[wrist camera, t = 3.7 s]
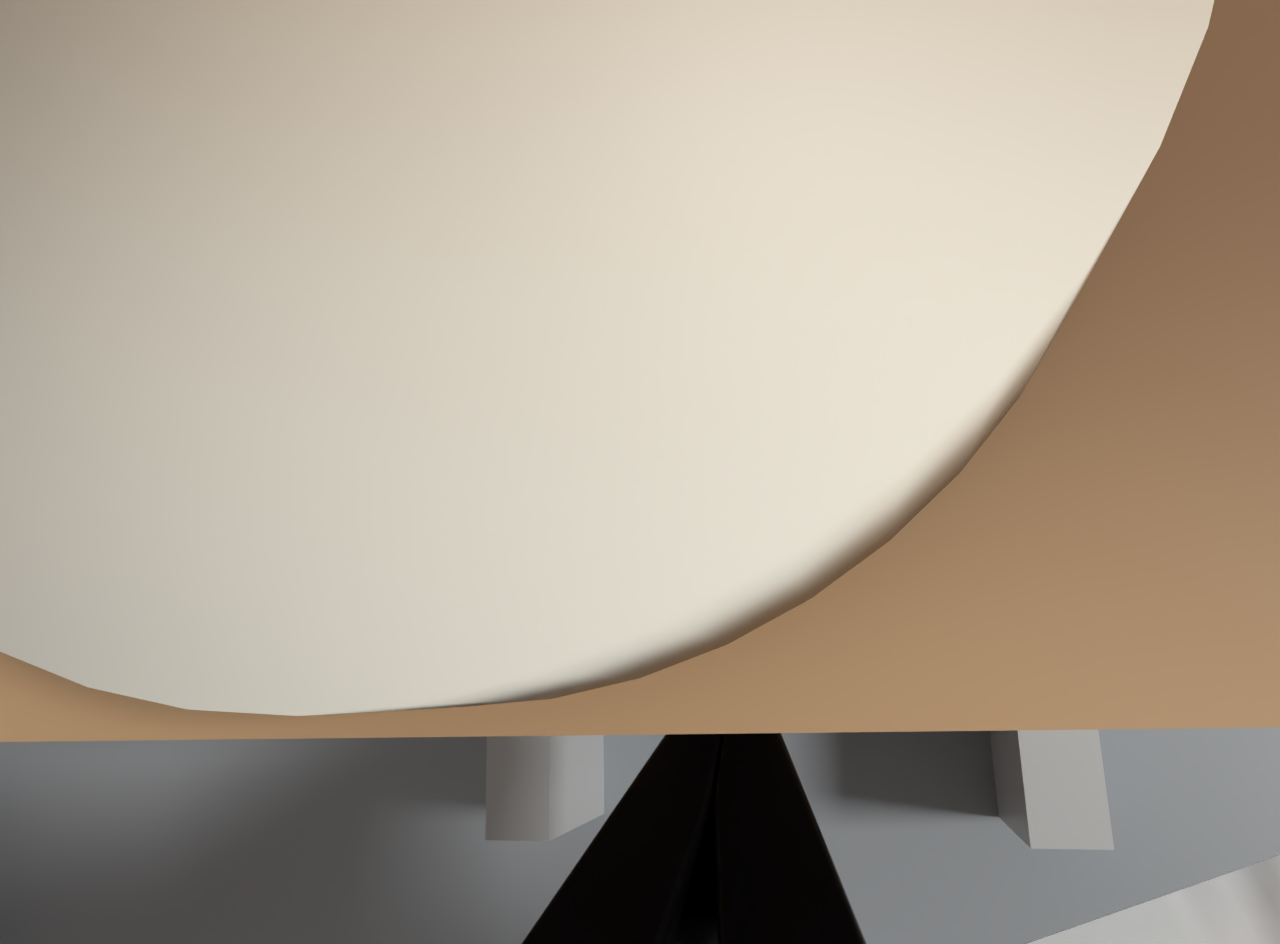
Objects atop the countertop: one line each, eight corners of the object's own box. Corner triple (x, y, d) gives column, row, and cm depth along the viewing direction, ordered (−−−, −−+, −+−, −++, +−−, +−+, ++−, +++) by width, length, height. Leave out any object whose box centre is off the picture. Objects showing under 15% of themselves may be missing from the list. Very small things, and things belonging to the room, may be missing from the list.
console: (1312, 813, 15) (1490, 864, 11) (-364, 1407, 20) (-705, 1608, 15) (815, -61, 21) (802, -252, 17) (-387, 555, 26) (-638, 529, 21)
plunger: (969, 691, 15) (1881, 751, 2) (611, 698, 16) (-556, 762, 3) (939, 396, 16) (1313, -1024, 3) (607, 425, 17) (-239, -427, 4)
